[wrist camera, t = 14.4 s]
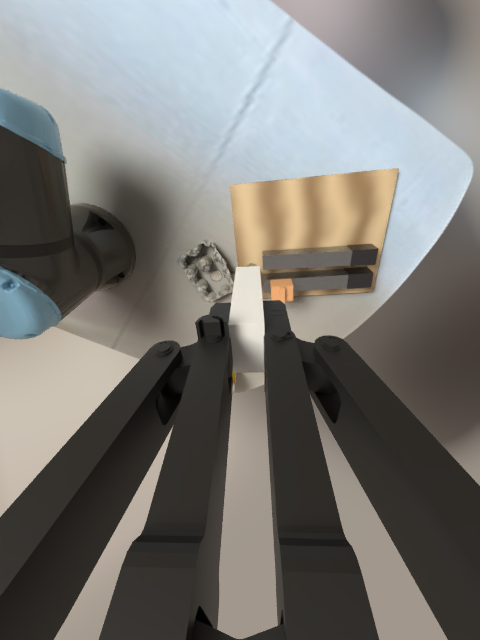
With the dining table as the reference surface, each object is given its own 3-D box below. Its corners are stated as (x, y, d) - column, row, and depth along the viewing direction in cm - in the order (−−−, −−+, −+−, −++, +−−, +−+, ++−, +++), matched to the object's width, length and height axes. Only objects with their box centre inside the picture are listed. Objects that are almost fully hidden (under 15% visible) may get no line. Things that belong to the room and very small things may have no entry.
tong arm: (262, 264, 46) (262, 270, 43) (262, 250, 44) (262, 255, 42) (368, 259, 44) (375, 264, 42) (371, 243, 43) (378, 248, 40)
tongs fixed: (246, 287, 49) (246, 298, 45) (244, 263, 46) (243, 272, 42) (364, 280, 47) (373, 290, 43) (369, 255, 44) (379, 264, 40)
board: (241, 296, 51) (241, 299, 50) (230, 184, 40) (229, 185, 39) (370, 289, 49) (373, 291, 48) (395, 168, 38) (398, 168, 37)
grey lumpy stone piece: (241, 282, 50) (240, 292, 47) (209, 298, 52) (205, 308, 49) (213, 233, 45) (209, 240, 42) (179, 252, 47) (172, 260, 44)
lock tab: (270, 294, 46) (271, 304, 42) (270, 279, 44) (271, 289, 41) (290, 292, 45) (293, 303, 42) (291, 278, 44) (293, 287, 40)
